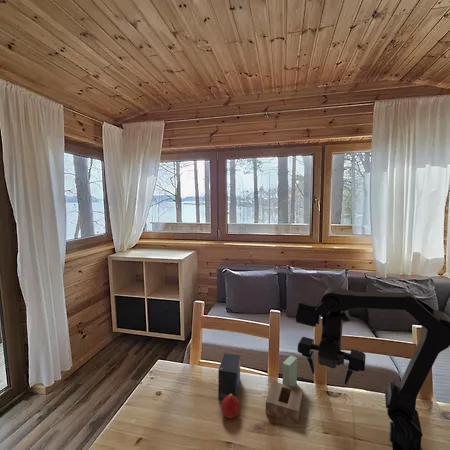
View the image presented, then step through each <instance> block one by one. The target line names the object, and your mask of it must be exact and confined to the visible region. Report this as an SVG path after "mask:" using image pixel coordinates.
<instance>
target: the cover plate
mask: <svg viewBox="0 0 450 450" xmlns="http://www.w3.org/2000/svg"><path fill="white" fill-rule="evenodd" d="M297 380H298V357H296V356H294V355H290V356H288V357H287V358H286V359H285V360H284V361H283V362H282V384H285V385H288V386H292V387H295V386H297V384H298V382H297Z"/></svg>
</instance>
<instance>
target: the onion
mask: <svg viewBox="0 0 450 450" xmlns="http://www.w3.org/2000/svg"><path fill="white" fill-rule="evenodd" d="M240 409H241V403H240V401H239V399H238V398H237V396H236V397H235V396H234V395H232V394H230V395H227V396H226V397H223V399H222V401H221V412H222V414H223V415H224V416H225V417H226V418H227V419H234V418H235V417H237V416H238V415H239V413H240Z"/></svg>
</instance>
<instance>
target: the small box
mask: <svg viewBox="0 0 450 450" xmlns="http://www.w3.org/2000/svg"><path fill="white" fill-rule="evenodd" d="M217 370H218V373H217V375H218V376H217V377H218V379H217V380H218V382H217V383H218V387H217V388H218V393H217V394H218V395H217V398H218V399H222V400H223V399H224V398H225V397H226V396H227V395H230V394H232V395H234V396H235V397H236V398H237V395H238V391H239V387H240V386H239V385H240V381H241V355H239V354H233V353H227V352H225V353H223V356H222V359H221V361H220V365H219V367H218V369H217Z"/></svg>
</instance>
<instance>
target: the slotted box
mask: <svg viewBox="0 0 450 450" xmlns="http://www.w3.org/2000/svg"><path fill="white" fill-rule="evenodd" d="M303 392H304V389H303V388H299V387H295V386H294V387H292V386H288V385H285V384H283V383H281V382H276V381H272V383H271V385H270V389H269V391H268V394H267V396H266V399H265V414H266V415H270V416H272V417H275V418H279V419H282V420H286V421H287V422H288V421H289V422H290V423H294V424H297V425H298V424H299V420H300V415H301V410H302V406H303V396H304V394H303Z"/></svg>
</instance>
